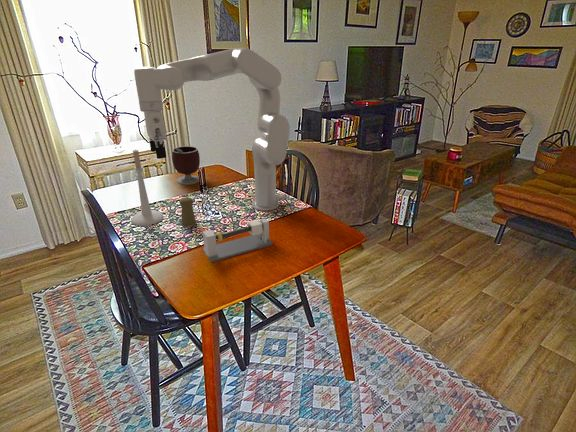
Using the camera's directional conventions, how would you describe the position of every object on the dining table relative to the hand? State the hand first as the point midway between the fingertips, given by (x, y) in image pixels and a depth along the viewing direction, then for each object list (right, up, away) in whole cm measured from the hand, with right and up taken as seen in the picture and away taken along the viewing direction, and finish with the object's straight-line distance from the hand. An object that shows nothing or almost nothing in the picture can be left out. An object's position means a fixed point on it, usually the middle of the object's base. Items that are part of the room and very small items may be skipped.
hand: (158, 154), depth 128 cm
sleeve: (+35, -28, +3) cm, 45 cm away
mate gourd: (-7, -4, +61) cm, 62 cm away
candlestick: (-12, -24, +21) cm, 34 cm away
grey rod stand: (+29, -34, +2) cm, 45 cm away
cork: (+6, -25, +18) cm, 32 cm away
